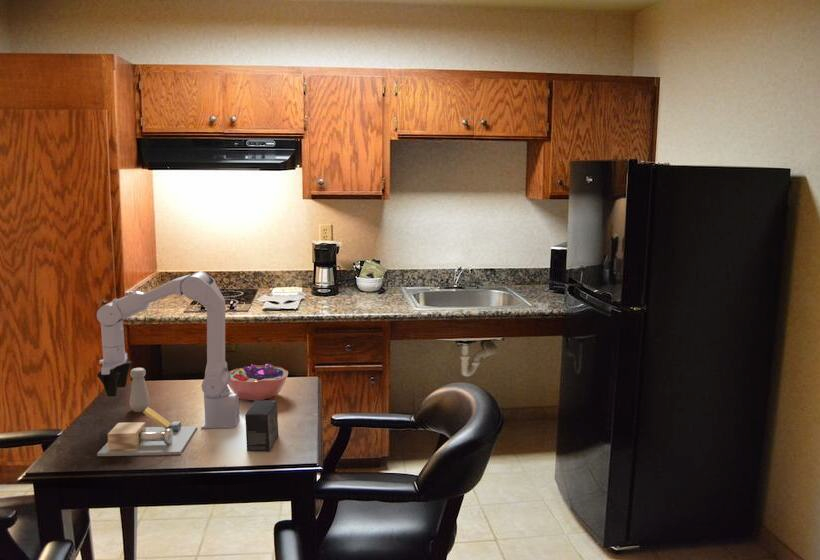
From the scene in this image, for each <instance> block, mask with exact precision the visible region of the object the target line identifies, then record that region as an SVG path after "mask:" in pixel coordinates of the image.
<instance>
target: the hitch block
mask: <svg viewBox="0 0 820 560" xmlns="http://www.w3.org/2000/svg"><path fill="white" fill-rule="evenodd" d="M145 427H146V422H145V421H144V422H143V421H142V422H139V421H137V422H134V421H133V422H117V423H116V424H115V426H114V427H113V428H112V429H111V430H110V431H108V433H107V442H108V446H109V451H137V449H138V448H139V447H140V446H141V445H142V443H143V442H139V436H138V434H139V433H140V432H146V428H145Z"/></svg>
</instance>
